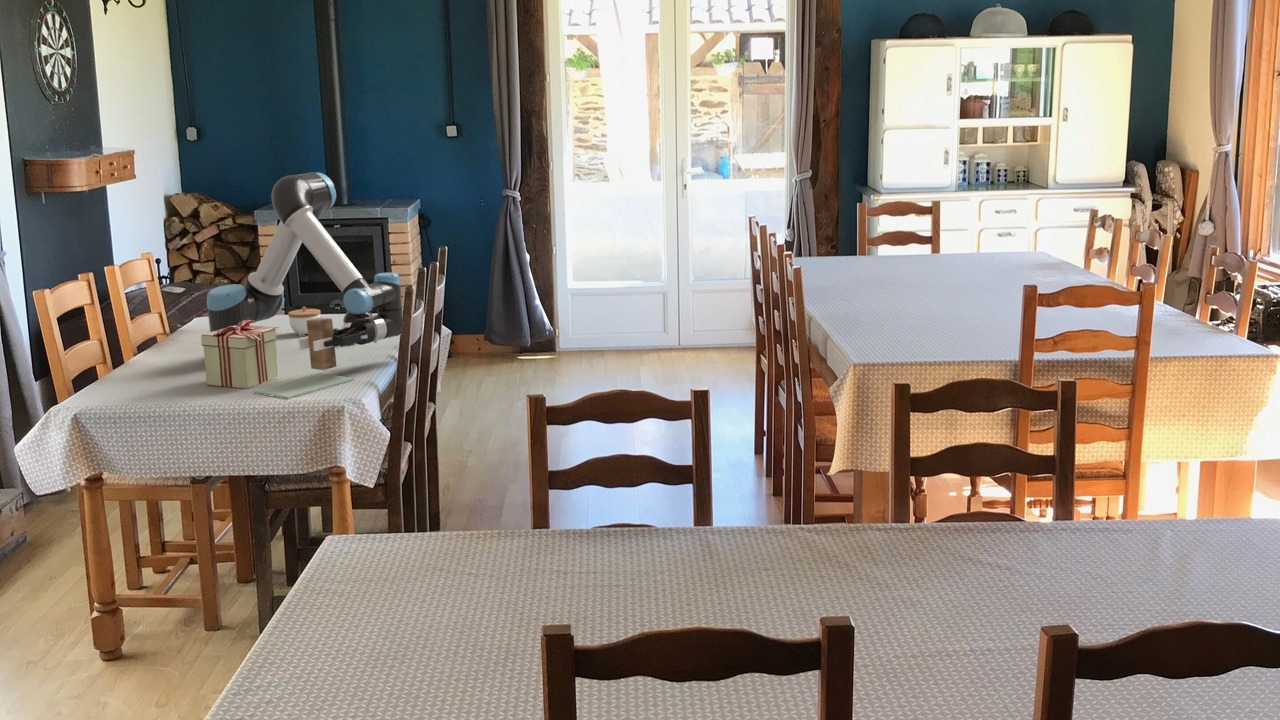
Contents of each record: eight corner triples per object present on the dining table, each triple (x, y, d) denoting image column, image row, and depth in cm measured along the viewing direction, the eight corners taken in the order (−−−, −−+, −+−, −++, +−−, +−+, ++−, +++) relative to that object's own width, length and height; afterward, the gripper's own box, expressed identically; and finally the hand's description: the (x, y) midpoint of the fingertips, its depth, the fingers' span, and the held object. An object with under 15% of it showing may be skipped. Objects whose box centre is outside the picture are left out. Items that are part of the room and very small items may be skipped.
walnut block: (324, 364, 355) (319, 316, 351) (336, 366, 352) (332, 317, 349) (311, 368, 351) (306, 319, 347) (323, 370, 348) (318, 320, 345)
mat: (320, 374, 360) (320, 373, 360) (353, 380, 352) (353, 378, 352) (254, 393, 341) (254, 391, 340) (288, 399, 333) (288, 397, 333)
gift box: (260, 389, 344) (254, 330, 341) (203, 387, 349) (196, 328, 346) (292, 375, 360) (287, 318, 357) (237, 373, 365) (231, 316, 362)
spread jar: (374, 336, 413) (371, 302, 411) (378, 343, 403) (375, 308, 400) (337, 340, 410) (334, 305, 407) (340, 346, 399) (337, 311, 397)
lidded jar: (328, 332, 423) (326, 305, 421) (305, 338, 414) (302, 310, 412) (307, 329, 429) (304, 303, 427) (283, 335, 420) (280, 308, 418)
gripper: (390, 345, 360) (330, 361, 341) (347, 340, 370) (286, 355, 351) (388, 320, 358) (328, 335, 339) (345, 315, 368) (284, 329, 349)
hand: (307, 345), depth 345 cm, fingers closed on walnut block, 5 cm apart
